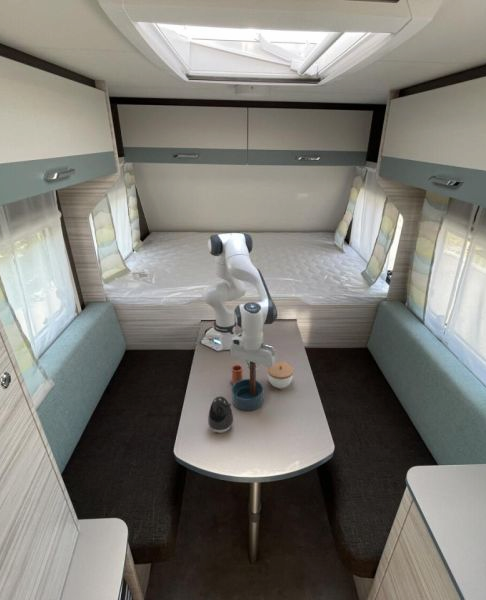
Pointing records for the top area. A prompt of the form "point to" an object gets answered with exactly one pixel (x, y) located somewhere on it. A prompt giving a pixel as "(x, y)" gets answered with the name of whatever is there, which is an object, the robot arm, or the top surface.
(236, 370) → the pot
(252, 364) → the stirring stick
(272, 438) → the top surface
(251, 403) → the mixing bowl
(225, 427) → the black rounded egg shape
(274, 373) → the lidded bowl
